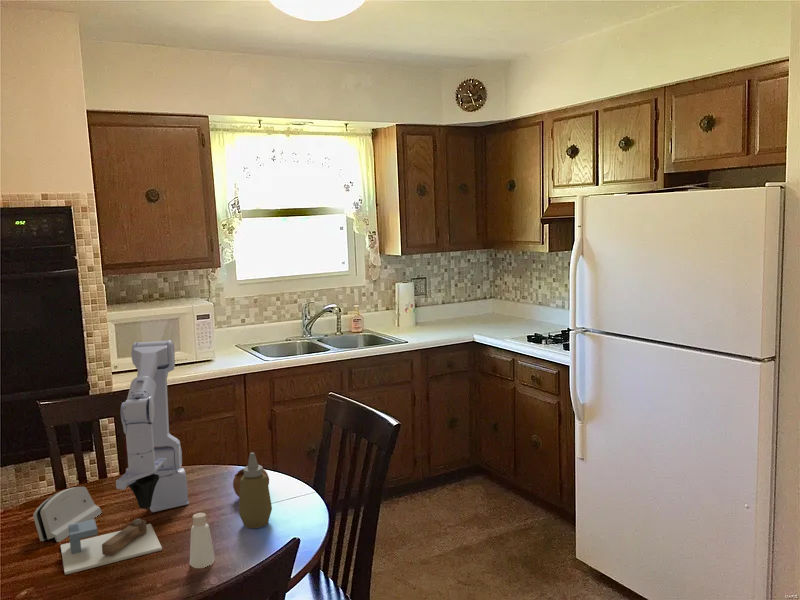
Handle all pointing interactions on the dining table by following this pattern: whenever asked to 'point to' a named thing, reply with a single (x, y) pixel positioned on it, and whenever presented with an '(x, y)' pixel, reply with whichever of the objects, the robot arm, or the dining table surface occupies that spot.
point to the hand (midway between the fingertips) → (145, 507)
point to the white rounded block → (64, 513)
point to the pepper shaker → (201, 543)
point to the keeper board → (90, 550)
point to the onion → (237, 481)
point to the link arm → (124, 537)
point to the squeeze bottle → (254, 495)
